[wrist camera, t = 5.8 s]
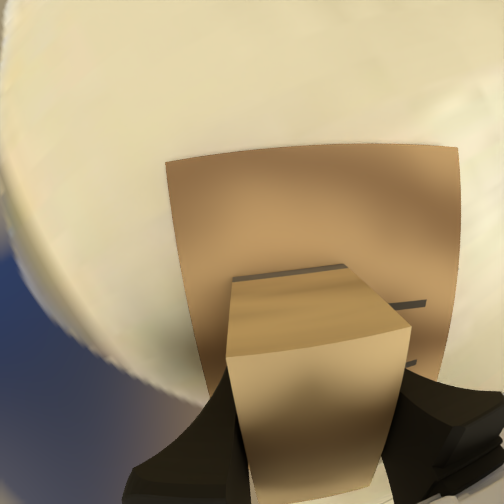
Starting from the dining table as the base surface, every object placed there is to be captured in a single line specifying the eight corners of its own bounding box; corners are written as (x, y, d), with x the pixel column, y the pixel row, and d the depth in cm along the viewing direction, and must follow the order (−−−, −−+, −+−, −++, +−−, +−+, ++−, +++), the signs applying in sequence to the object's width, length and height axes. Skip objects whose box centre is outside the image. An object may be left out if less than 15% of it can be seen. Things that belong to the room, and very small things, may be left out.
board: (412, 420, 16) (419, 430, 15) (232, 457, 16) (232, 470, 15) (443, 148, 12) (457, 147, 11) (172, 163, 12) (165, 162, 10)
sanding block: (338, 406, 14) (369, 486, 8) (254, 419, 14) (259, 506, 8) (343, 263, 12) (411, 326, 6) (232, 277, 12) (225, 357, 6)
